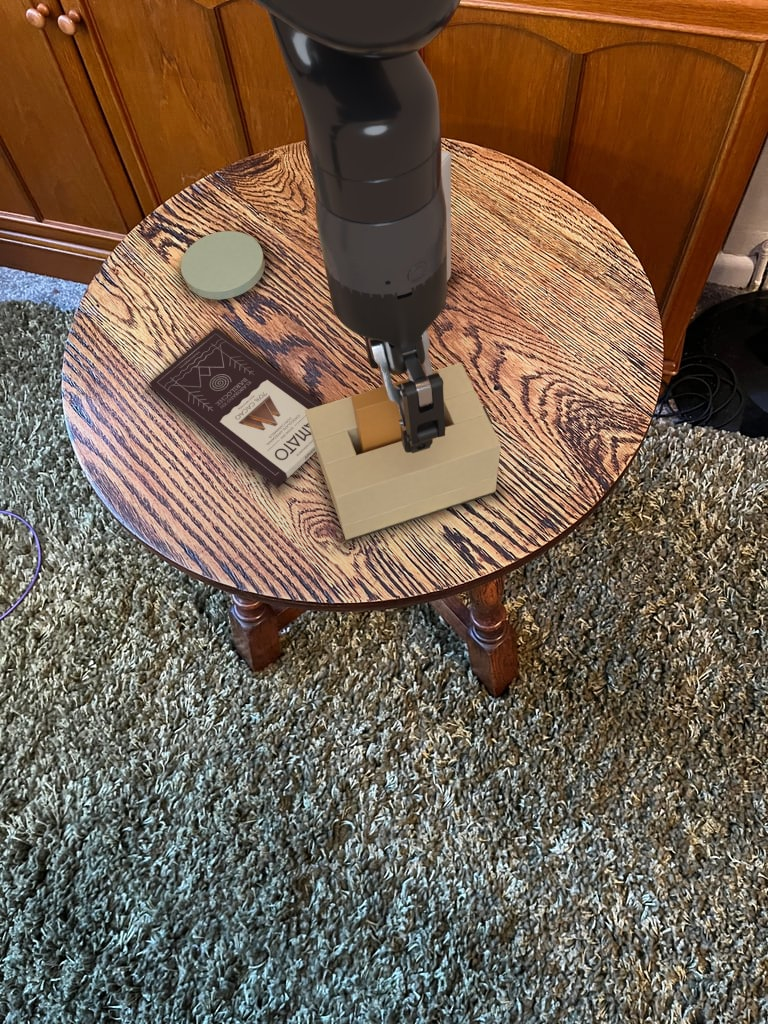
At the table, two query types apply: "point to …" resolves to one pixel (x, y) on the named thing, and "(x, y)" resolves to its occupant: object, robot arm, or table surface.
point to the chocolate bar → (242, 405)
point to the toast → (376, 419)
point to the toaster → (406, 462)
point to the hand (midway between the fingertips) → (399, 403)
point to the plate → (223, 265)
